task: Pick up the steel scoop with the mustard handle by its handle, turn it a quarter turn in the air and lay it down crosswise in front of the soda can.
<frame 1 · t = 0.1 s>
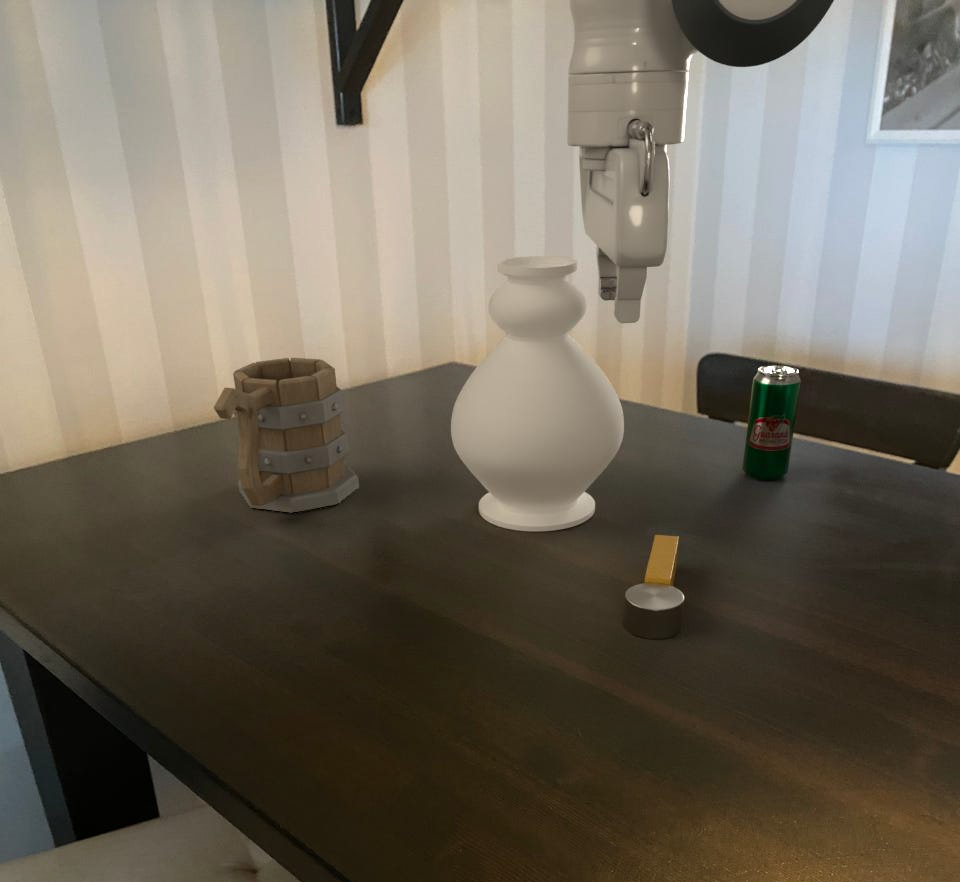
hand: (617, 309, 77), 23 cm above the table, tool pointing down, fingers open, 8 cm apart
scoop: (657, 600, 82), on the table
soda can: (764, 476, 108), on the table
decorative vase: (536, 510, 101), on the table
tankard: (283, 505, 104), on the table
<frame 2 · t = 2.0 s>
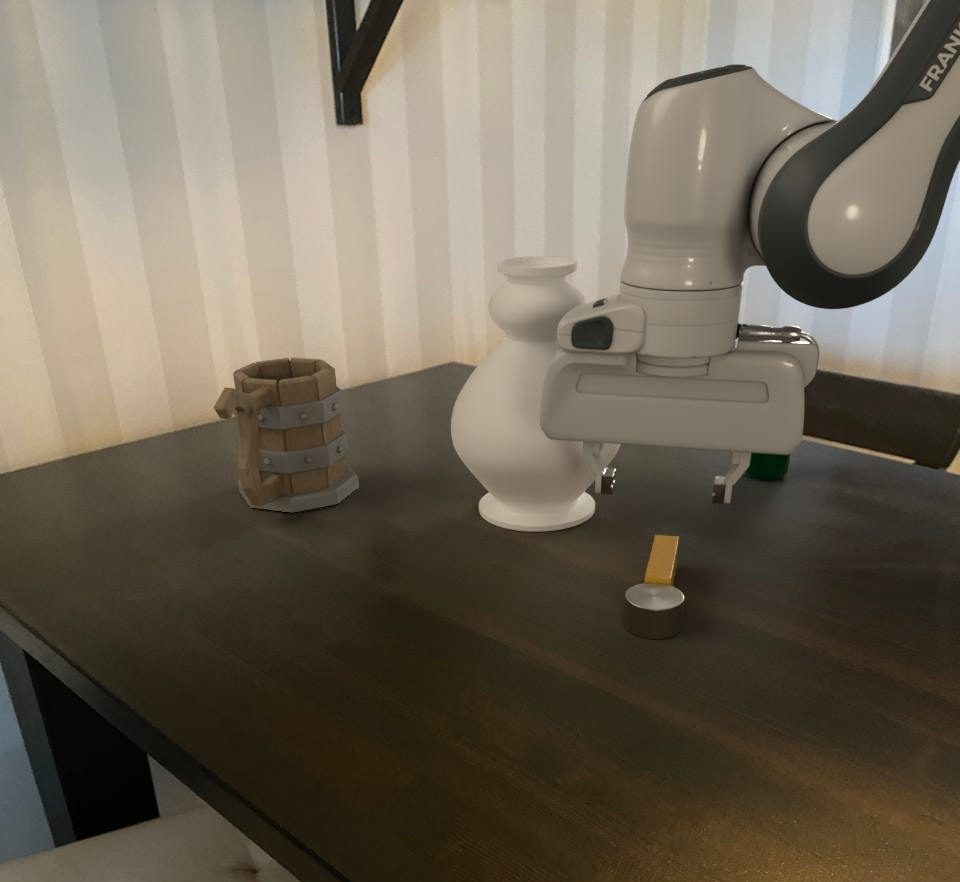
hand: (662, 496, 76), 10 cm above the table, tool pointing down, fingers open, 8 cm apart
nothing on the table moved.
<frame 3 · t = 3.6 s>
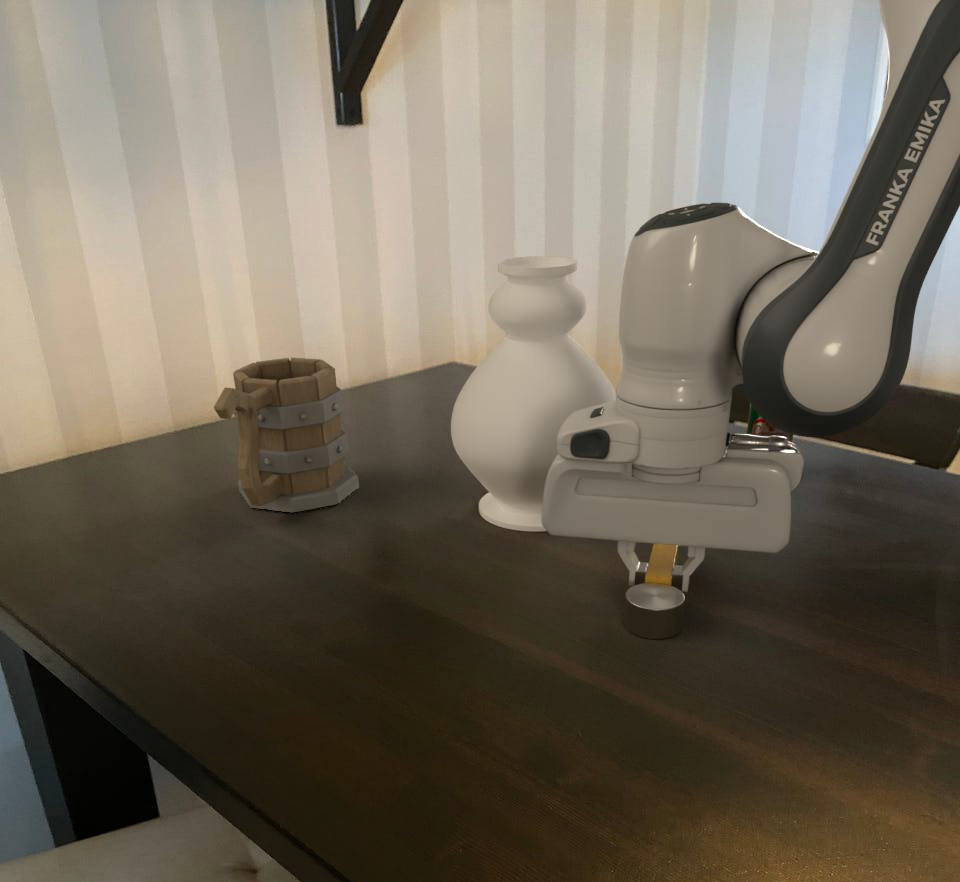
hand: (658, 586, 81), 2 cm above the table, tool pointing down, fingers closed on scoop, 2 cm apart
scoop: (657, 600, 82), on the table, touching gripper
everything else where it was.
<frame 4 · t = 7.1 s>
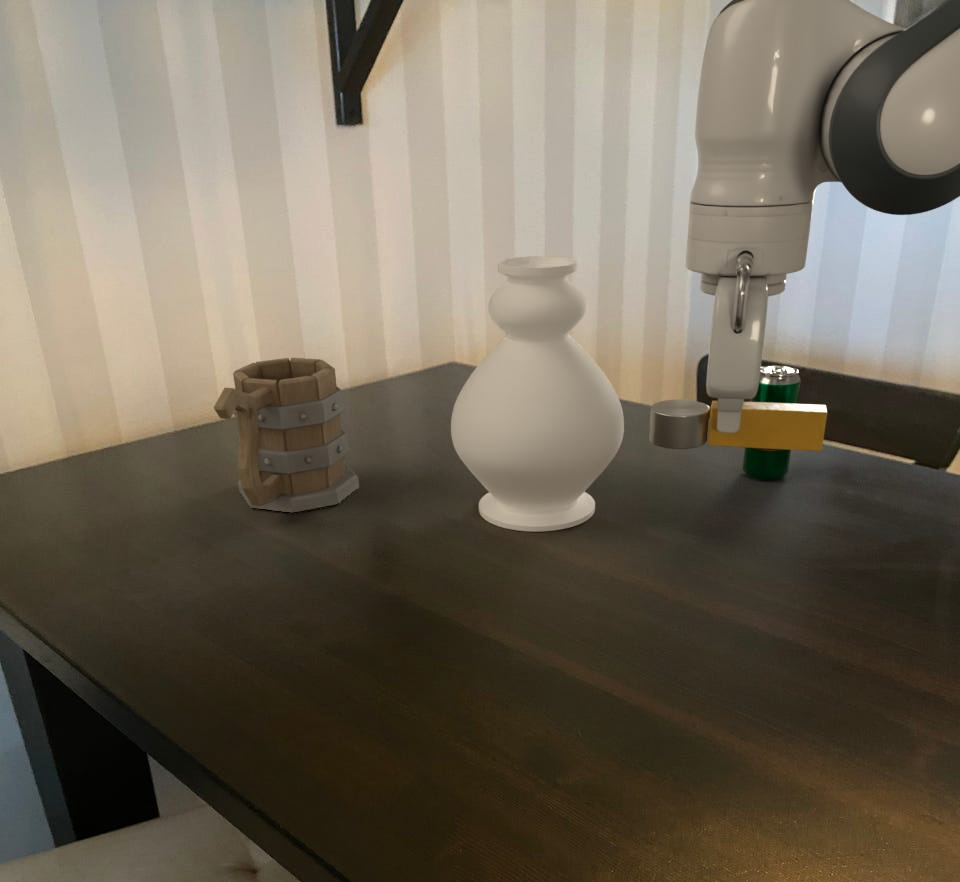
hand: (728, 423, 77), 15 cm above the table, tool pointing down, fingers closed on scoop, 2 cm apart
scoop: (732, 442, 78), point 13 cm above the table, touching gripper
everything else where it was.
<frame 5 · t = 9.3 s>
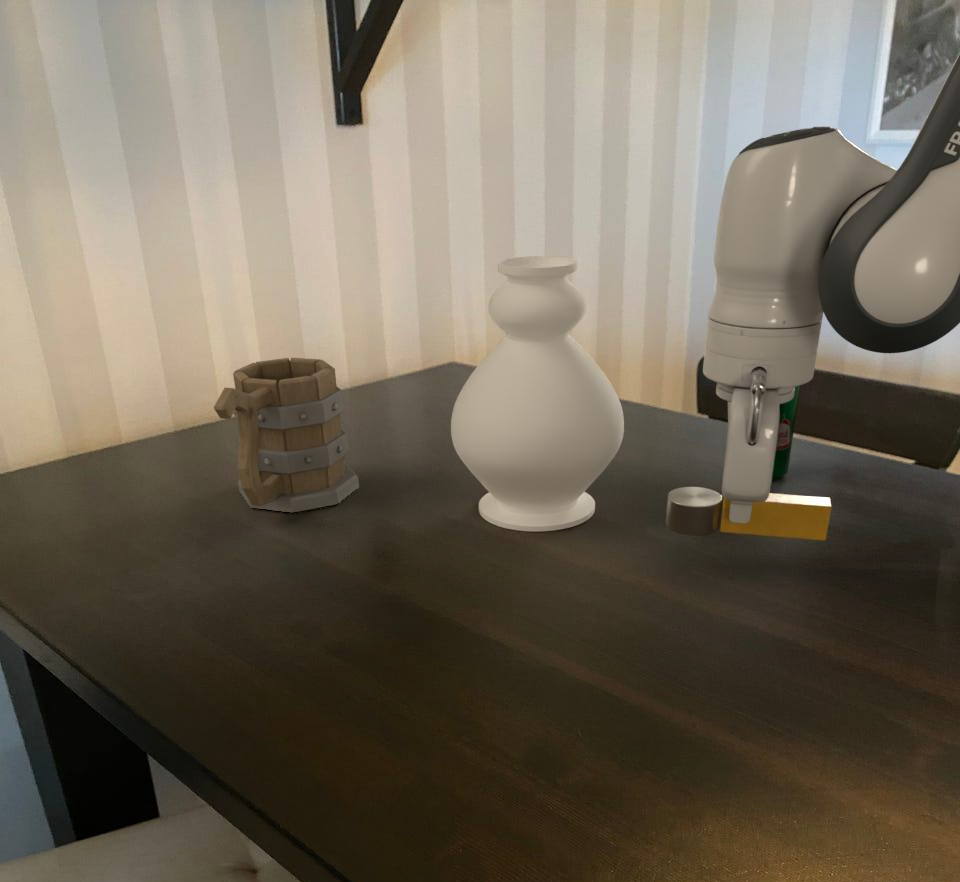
hand: (739, 512, 83), 6 cm above the table, tool pointing down, fingers closed on scoop, 2 cm apart
scoop: (743, 529, 84), point 4 cm above the table, touching gripper
everything else where it was.
when the fingers open (1 cm above the table, at t = 10.6 s): scoop stays where it is, on the table.
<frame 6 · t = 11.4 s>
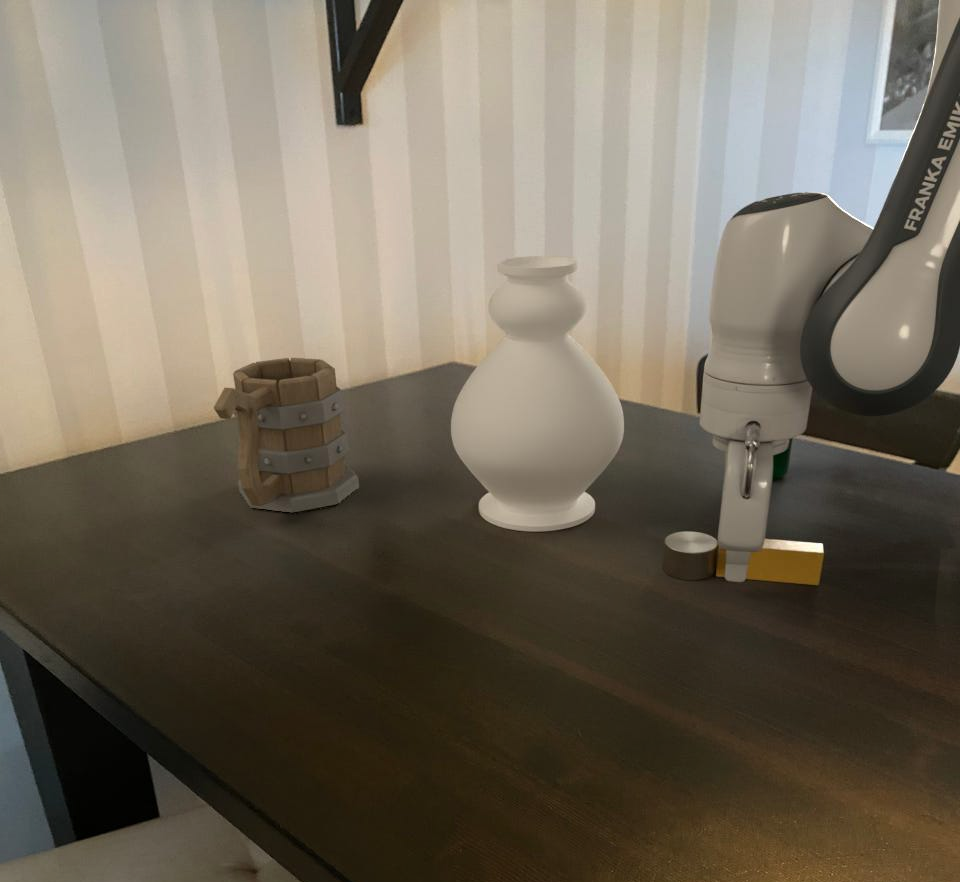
hand: (736, 555, 85), 2 cm above the table, tool pointing down, fingers open, 8 cm apart
scoop: (738, 573, 86), on the table
everything else where it was.
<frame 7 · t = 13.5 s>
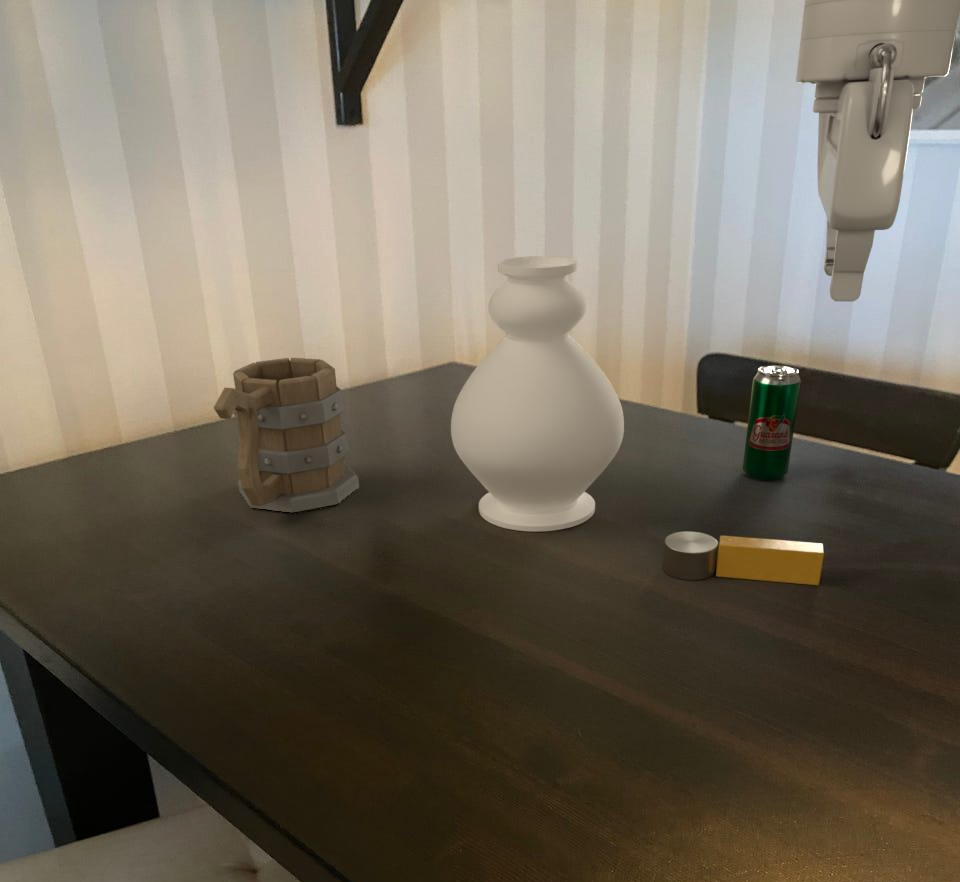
hand: (839, 286, 64), 27 cm above the table, tool pointing down, fingers open, 8 cm apart
nothing on the table moved.
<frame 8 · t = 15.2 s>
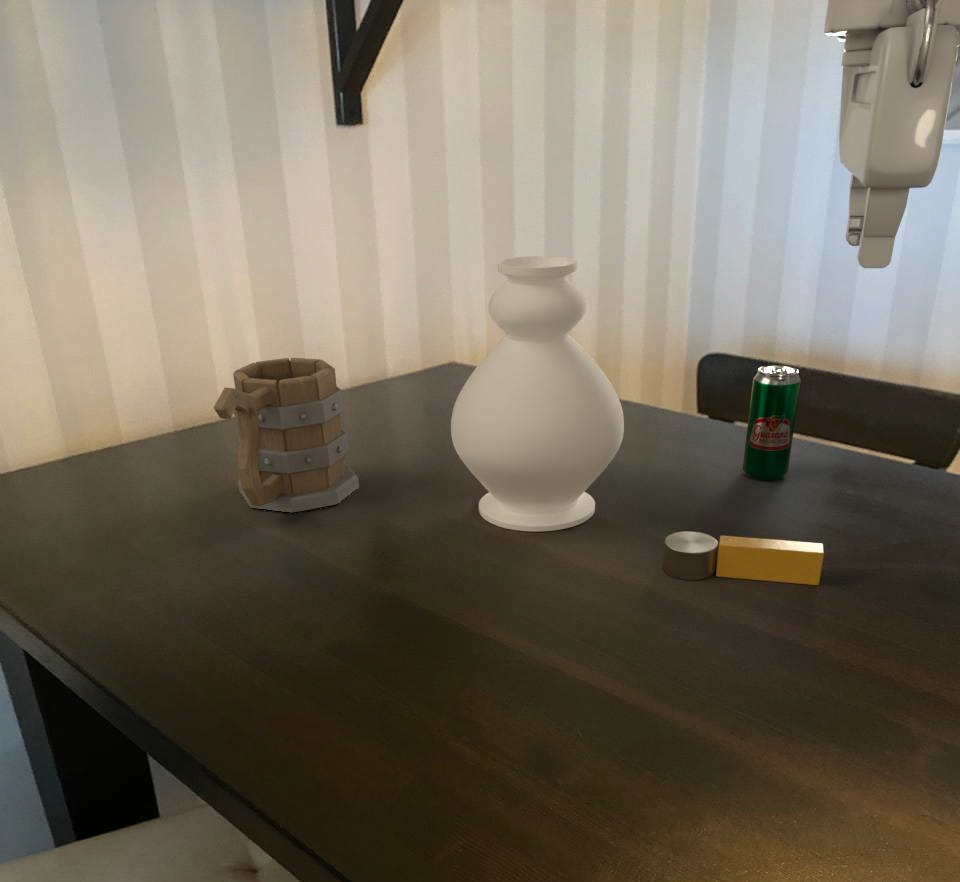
hand: (865, 255, 60), 29 cm above the table, tool pointing down, fingers open, 8 cm apart
nothing on the table moved.
at the end: scoop inside the target area on the table beside the soda can (0.2 cm from its centre), on the table; scoop tilted 0°; the gripper is holding nothing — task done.
